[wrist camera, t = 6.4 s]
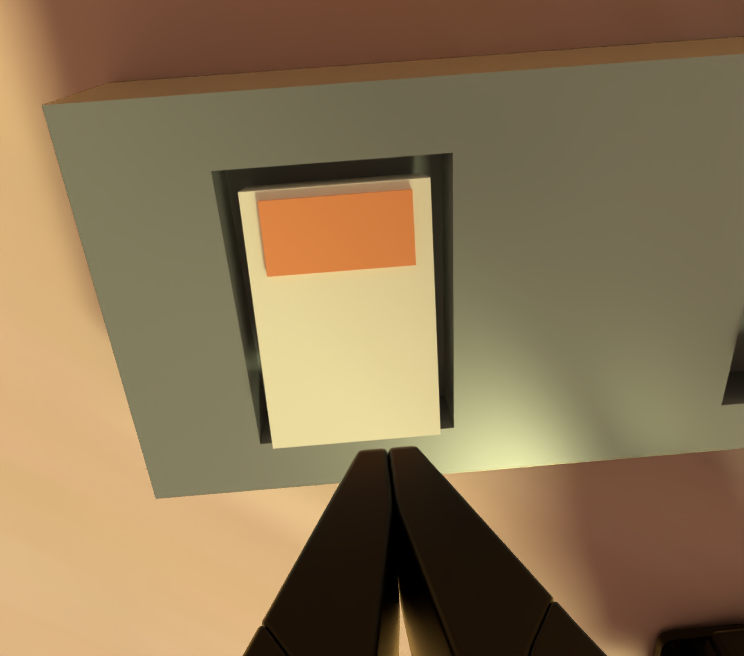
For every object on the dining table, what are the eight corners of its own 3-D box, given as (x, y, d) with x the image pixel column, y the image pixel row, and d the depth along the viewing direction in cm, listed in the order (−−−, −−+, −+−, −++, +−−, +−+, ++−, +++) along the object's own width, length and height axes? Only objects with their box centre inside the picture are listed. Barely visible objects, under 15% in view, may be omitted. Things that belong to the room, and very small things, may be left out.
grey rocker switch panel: (884, 354, 21) (999, 426, 17) (187, 412, 20) (156, 498, 17) (1006, 17, 16) (1196, 20, 13) (108, 82, 16) (41, 105, 12)
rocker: (433, 412, 16) (441, 437, 15) (278, 425, 16) (272, 451, 15) (423, 172, 14) (431, 177, 13) (246, 186, 14) (236, 192, 13)
